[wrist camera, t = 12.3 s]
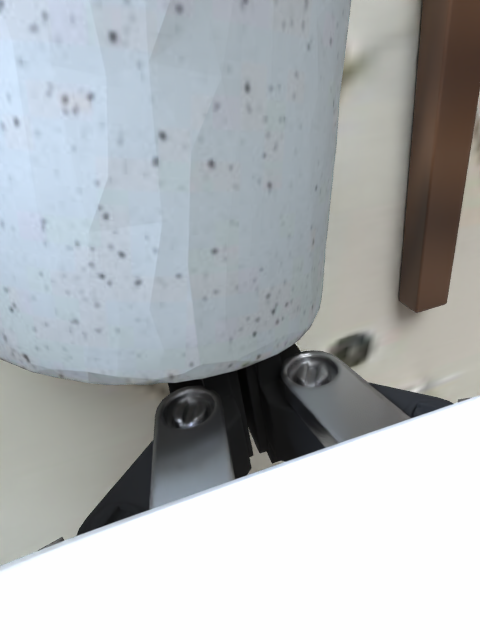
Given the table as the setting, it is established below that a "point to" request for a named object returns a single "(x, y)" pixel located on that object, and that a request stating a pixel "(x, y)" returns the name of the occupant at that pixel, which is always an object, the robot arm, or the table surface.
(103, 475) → the table surface
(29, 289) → the ceramic mug
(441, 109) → the walnut frame
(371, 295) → the table surface
